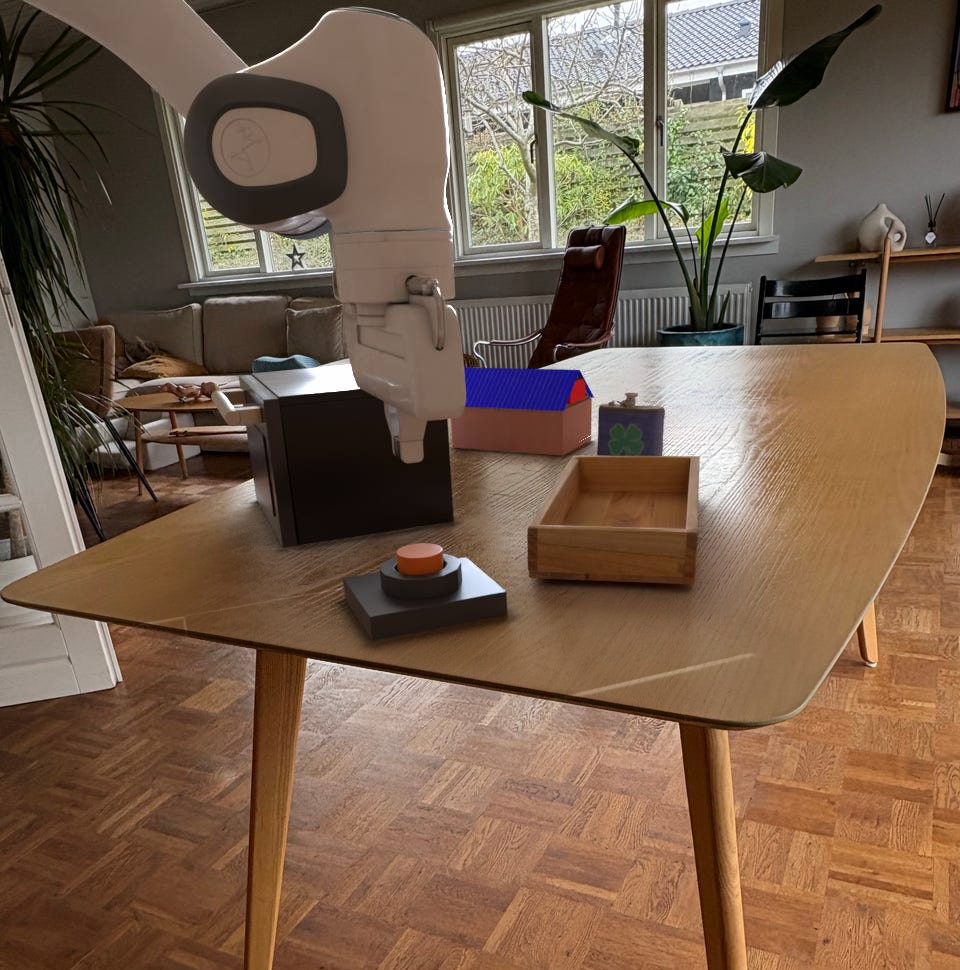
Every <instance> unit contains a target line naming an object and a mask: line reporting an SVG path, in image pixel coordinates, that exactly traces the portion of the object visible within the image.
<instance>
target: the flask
mask: <svg viewBox="0 0 960 970" xmlns="http://www.w3.org/2000/svg"><path fill="white" fill-rule="evenodd" d="M624 396H626V398H625V399H623V400H622V401H620V400H611V401H609V402H608V403H601V404H600V405H599V406H598V412H597V413H598V416H597V417H598V419H597V423H598V424H597V446H596V450H597V451H596V456H663V452H664V432H665V431H664V426H665V417H666V416H665V415H666V410H665V408H664V407H663V406H662V405H636V403H637V402H636V398H637V397H638V396H639V394H638V392H625V393H624ZM615 401H616V402H615Z"/></svg>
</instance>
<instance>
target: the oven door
mask: <svg viewBox="0 0 960 970" xmlns="http://www.w3.org/2000/svg"><path fill="white" fill-rule="evenodd" d="M238 382H239V388H234V389H222V390H221V389H220V390H214V391H213V392H212V393H211V394H210V396H211V397H210V399H211V401H212V403H213V404H214V406H215V407H216V409H217V411H218V413H219V414H220V415H221V417H222V418H223V420H224V421H225V423H226V424H227V425H228V426H230V427H238V426H245V430H246V436H247V444H248V450H249V457H250V458H249V459H250V465H251V471H252V479H253V484H254V492H255V498H256V501H257V503H258V506H259V507H260V509H261V510H262V512H263V514H264V516H265V517H266V519H267V521H268V523H269V525H270V527H271V528H272V531H273V532H274V534H275V536H276V538H277V539H278V541H279V543H280V545H281V546H282V548H288V547H289V548H290V547H296V546H298V542H297V538H296V530H295V522H294V514H293V506H292V498H291V490H290V482H289V475H288V467H287V459H286V451H285V443H284V435H283V427H282V419H281V412H280V404H279V398H277V397H276V396H275V395H274V394H273V393H272V392H271V391H269V390H268V389H267V388H266V387H265V386H264V385H263V384H261V383H260V382H259V381H258V380H257V379H256V378H254V377H253V376H252V374H244V375H238ZM238 405H239V406H240V405H242V406H241V407H235V406H238Z"/></svg>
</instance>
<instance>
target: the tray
mask: <svg viewBox="0 0 960 970" xmlns="http://www.w3.org/2000/svg"><path fill="white" fill-rule="evenodd" d="M700 458H701V457H700V456H699V455H662V456H597V455H572V457H571V458H570V460H569V461H568V462H567V464H566V466H565V468H564V469H563V470H562V472H561V474H560V476H559V477H558V479H557V480H556V481H555V484H554V485H553V486H552V488H551V490H550V491H549V493H548V494H547V496H546V497H545V499H544V500H543V502H542V504H541V505H540V507H539V508H538V510H537V512H536V513H535V515H534V517H533V518H532V520H531V522H530V523H529V525H528V527H527V532H526V536H527V537H526V540H527V543H526V544H527V545H526V546H527V551H526V552H527V570H528V578H530V579H540V580H571V581H592V582H593V581H594V582H596V581H597V582H623V583H645V584H646V583H648V584H651V583H652V584H669V585H671V584H672V585H691V584H692V585H695V579H696V570H697V555H698V537H699V535H698V534H699V533H698V532H699V504H700V503H699V501H700V500H699V497H700V496H699V494H700V493H699V491H700V490H699V489H700V460H701V459H700Z"/></svg>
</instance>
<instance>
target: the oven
mask: <svg viewBox="0 0 960 970" xmlns="http://www.w3.org/2000/svg"><path fill="white" fill-rule="evenodd" d="M251 375H252V376H253V377H254V378H256V379H257V380H258V381H259V382H260V383H261V384H263V385H264V386H265V387H266V388H267V389H268V390H269V391H271V392H272V393H273V394H274V395H275V396H276V397H277V398H279V404H280V412H281V419H282V427H283V435H284V443H285V451H286V459H287V467H288V475H289V482H290V490H291V498H292V506H293V514H294V522H295V530H296V538H297V544H298V545H299V546H306V545H311V544H319V543H326V542H331V541H336V540H337V541H338V540H343V539H349V538H350V539H351V538H356V537H357V538H358V537H363V536H369V535H377V534H382V533H389V532H395V531H402V530H408V529H414V528H421V527H427V526H434V525H441V524H447V523H453V522H454V521H455V519H454V517H455V515H454V503H453V500H454V499H453V486H452V485H453V484H452V470H451V469H452V468H451V454H450V453H451V452H450V450H451V449H450V437H449V436H450V435H449V419H443V420H431V421H427V423H426V428H425V433H424V438H423V454H424V457H423V460H422V461H420V462H416V463H405V462H403V461H402V460H401V459H399V458H398V457H397V456H395V455H394V454H393V448H392V436H391V433H390V430H389V426H388V422H387V419H386V415H385V410H384V401H382V400H380V399H379V398H377V397H375V396H373V395H371V394H369V393H367V392H365V391H364V390H362V389H360V388H358V387H357V385H356V383H355V380H354V377H353V374H352V370H351V365H350V364H342V365H341V364H340V365H329V366H321V367H309V368H308V367H307V368H297V369H286V370H277V371H276V370H274V371H267V372H266V371H265V372H253V373H251Z"/></svg>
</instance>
